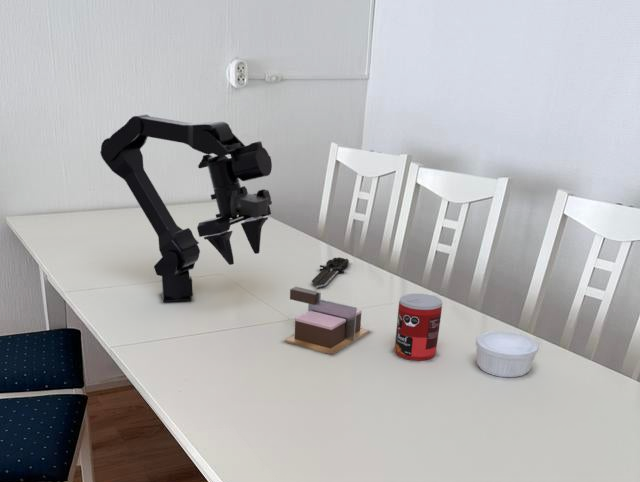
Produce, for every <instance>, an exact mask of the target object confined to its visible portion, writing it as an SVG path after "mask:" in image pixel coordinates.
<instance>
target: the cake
mask: <svg viewBox="0 0 640 482" xmlns="http://www.w3.org/2000/svg"><path fill="white" fill-rule="evenodd" d="M362 311H363V310H362V309H359V308H357V312H356V326H355V333H357V332H359V331H360V328H361V326H362V325H361V324H362ZM345 325H346V319H343V318H338V317H334V316H330V315H326V314H322V313H318V312H314V311H308V310H307V311H306V312H304V313H303V314H300V315H298V316H296V317H295V320H294V335H295V339H297V340H301V341H304V342H308V343H312V344H315V345H319V346H323V347H327V348H330V349H331V348H332V347H334V346H336V345H337V344H339V343H341V342H342V341H344V340H345Z"/></svg>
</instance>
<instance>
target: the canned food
mask: <svg viewBox="0 0 640 482" xmlns="http://www.w3.org/2000/svg"><path fill="white" fill-rule="evenodd" d="M442 311H443V300H442V299H441V298H440V297H438V296H435V295H433V294H429V293H407V294H404V295H401V296H400V297H399V302H398V309H397V320H396V328H395V329H396V331H395V338H394V339H395V341H394V351H395V354H396V355H397V356H399V358H402V359H405V360H408V361H427V360H430V359H433V358H434V357H435V355H436V353H437V348H438V342H439V341H438V339H439V332H440V326H441V319H442Z"/></svg>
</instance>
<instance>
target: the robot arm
mask: <svg viewBox="0 0 640 482" xmlns="http://www.w3.org/2000/svg"><path fill="white" fill-rule="evenodd" d="M148 138H153V139H158V140H164V141H170V142H176V143H181V144H185V145H187V146H189V147H190V148H191V149H193V150H195V151H197V152H200V153H202V154H204V155H202V159H201V160H200V162H199V164H198V165H197V168H198V169H203V168H207V170H208V174H209V178H210V182H211V185H212V189H213V193H212V194H210V199H211V200H212V201H213V200H215V202H216V205H217V208H218V209H217V210H218V213H216V214H215V217H214V218H209V219H206V220H203V221H200V222H198V224H197V226H196V230H197V233H198V237H200V238H202V237H203V240H207V241H208V242H209V243H210V245H212V246H213V248H215V250H216V251H217V252H218V253H219V254H220V255H221V257H222V258H223V259H224V260H225V262H226V263H227V264H228V265H229V266H231V265H234V264H235V262H234V261H235V260H234V254H233V249H232V245H231V237H232V234H233V230H230V229H231V226H232V225H235V224H237V223H240V225H241V228H242V230H243V232H244V234H245V236H246V239H247V240H248V244H249V245H250V248H251V250H252V251H253V253H254V254H255V255H257V254H260V248H261V235H262V228H263V225H264V224H265V223H266V221H268V219H269V215H271V214H272V211H271V205H272V203H273V202H272V197H271V194H270V191H269V190H268V189H263V188H262V189H259V190H257V192H256V193H249V192H248V189H247V187H246V186H244V185H243V186H241V182H248V181H251V180H256V179H260V178H265V177H269V176H270V175H271V173H272V169H273V168H272V167H273V163H272V158H271V155H269V152H268V150H267V149H266V148H264V147H263V142H262V141H261V140H259V141H256V142H255V141H254V142H252V143H250V144H248V145H245V143H243V142H242V141H241V140H240V139H239V138H238V137H237V136H236V135H235V134H234V133H233V131H232V129H231V127H230V125H229V124H228V123H227V122H225V121H221V120H220V121H207V122H194V123H192V122H187V121H182V120H181V121H180V120H173V119H168V118H162V117H161V118H160V117H157V116H151V115H148V114H140V115H133V116H132V117H130V118H129V119H128V121H127V122H126V123H125V124H124V125H122V126H121V127H120V128H119V129H118V130H116V131H115V132H113V134H111V136H110V137H107V138H105V139H104V140H103V141H102V143H101V145H100V151H99V152H100V156H101V158H102V160H103V162H104V163H105V164H106V165H107V166H108V168H109V169H110V170H111V172H113V173H114V174H116V175H117V176H118V177H119V178H121V179H123V180H124V182H125V183H126V185H127V186H128V188H129V190H130V192H131V193H132V195H133V197H134V198H135V199H136V202H137V204H138V205H139V207H140V208H141V210H142V212H143V213H144V215H145V217H146V218H147V220H148V222H149V223H150V225H151V227H152V228H153V230H154V232H155V233H156V235H157V238H158V250H159V253H160V256H161V258H160V259H159V260H158V261H157V262H156V263H155V264H154V266H153V268H154V272H155V274H156V276H158V277H161V287H162V291H161V296H162V302H163V303H177V302H191V301H192V297H193V295H194V294H193V293H194V291H193V277H192V276H191V275H190V270H194V267H195V265H196V262H198V260H199V257H200V253H201V250H200V247H199V245H198V244H200V242H199V240H197V239H196V238H195V236H194V233H193V232H192V230H191V228H190V227H186V228H184V229H183V228H181V227H180V226H178V224H177V223H176V221H175V219H174V218H173V216H172V214H171V213H170V211H169V210H168V208H167V206H166V204H165V203H164V201H163V199H162V198H161V196H160V194H159V193H158V191H157V189H156V188H155V185H154V184H153V182H152V181H151V179H150V177H149V176H148V174H147V172H146V170H145V167H144V156H143V153H142V151H141V149H143V147H144V146H145V144H146V143H147V140H148ZM212 155H215V156H212ZM227 155H229V156H230V157H228V156H227ZM240 181H241V182H240ZM242 221H243V222H242Z"/></svg>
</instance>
